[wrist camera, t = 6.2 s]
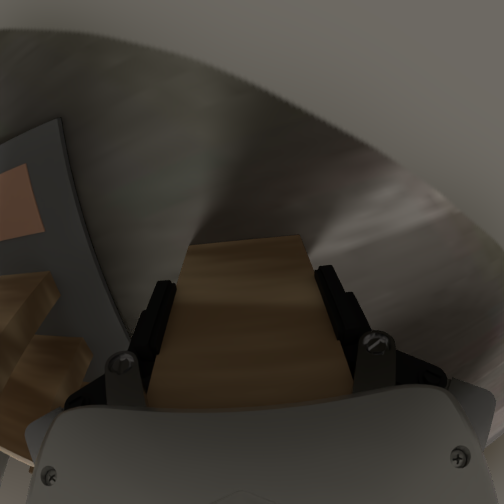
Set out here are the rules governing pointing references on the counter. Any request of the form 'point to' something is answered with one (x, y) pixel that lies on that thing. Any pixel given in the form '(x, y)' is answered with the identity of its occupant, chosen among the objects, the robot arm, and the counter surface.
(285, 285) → the domino
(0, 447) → the domino
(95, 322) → the mat
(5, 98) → the counter surface
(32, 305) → the domino
